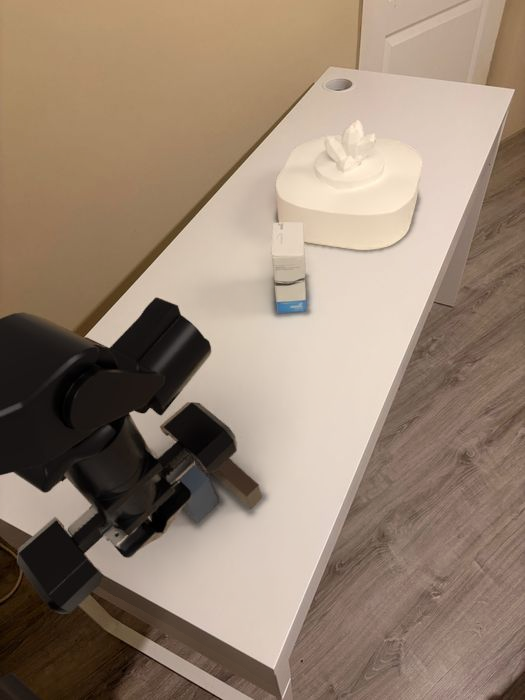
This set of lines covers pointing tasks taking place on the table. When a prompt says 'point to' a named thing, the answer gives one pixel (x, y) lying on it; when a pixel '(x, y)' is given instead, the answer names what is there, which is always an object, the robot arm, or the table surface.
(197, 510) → the slate block
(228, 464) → the walnut rail
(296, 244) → the ink box
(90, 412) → the robot arm
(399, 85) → the table surface
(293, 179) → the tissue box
